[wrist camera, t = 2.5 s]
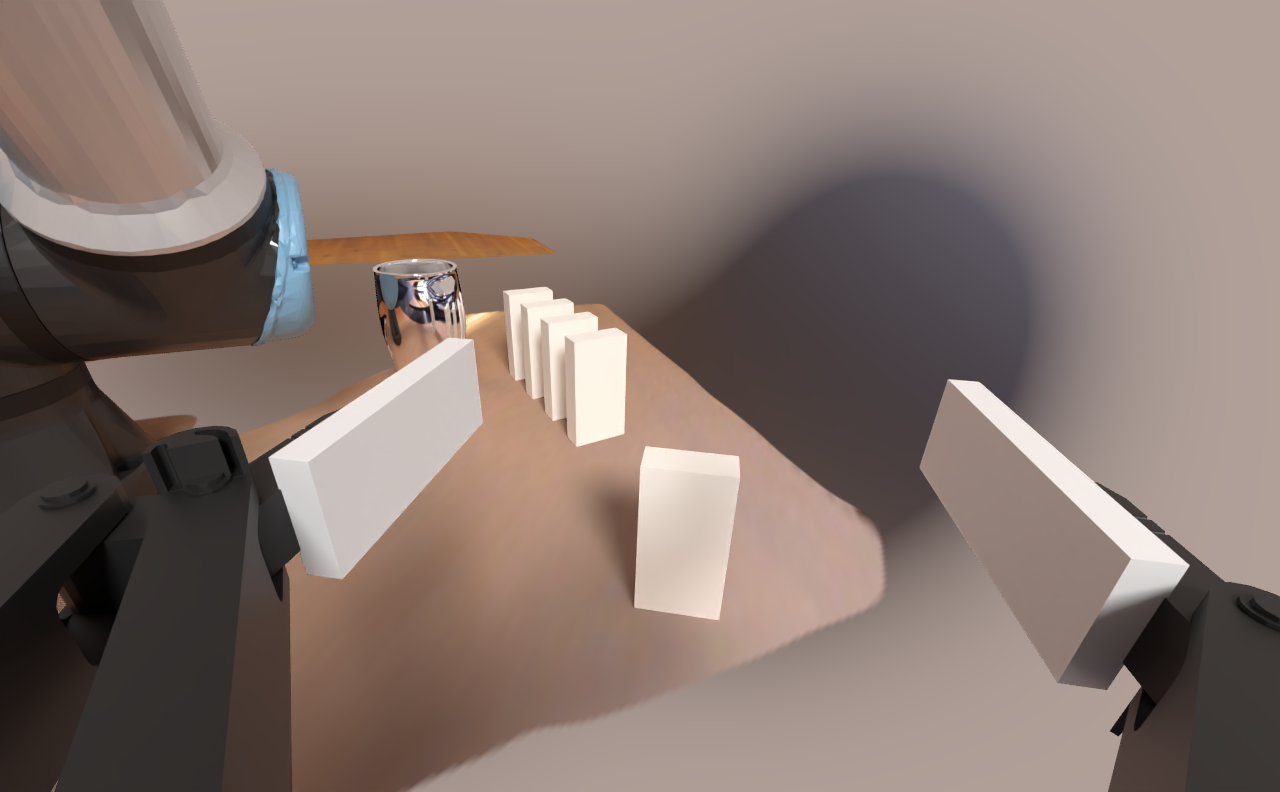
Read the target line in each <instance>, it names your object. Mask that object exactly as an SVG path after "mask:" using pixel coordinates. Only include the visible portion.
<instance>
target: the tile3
mask: <svg viewBox="0 0 1280 792" xmlns="http://www.w3.org/2000/svg"><path fill="white" fill-rule="evenodd" d="M540 323H541V342H542V361H543V381H544V400H545V413H546V414H547V415H548V416H549V417H550V419H551V420H552V421H555V420H559V419H563V418H567V407H566V372H565V337H564V336H565V335H572V334H578V333H585V332H591V331H598V317H596V316H595V315H593V314H591V313H589V312H583V313H576V314H568V315H561V316H553V317H546V318H540Z"/></svg>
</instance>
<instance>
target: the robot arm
mask: <svg viewBox="0 0 1280 792" xmlns="http://www.w3.org/2000/svg"><path fill="white" fill-rule="evenodd" d="M314 321H315V307H314V296H313V288H312V281H311V272H310V266H309V256H308V250H307V239H306V232H305V224H304V217H303V210H302V204H301V197H300V191H299V186H298V182H297V181H296V179H295V178H294V177H293V176H292V175H290V174H289V173H285V172H279V171H277V170H275V169H274V168H273V169H267V168H266V169H264V166H263V164H262V162H261V160H260V158H259V156H258V154H257V153H256V151H255V149H254V148H253V147H252V145H251V144H250V143H249V142H248V141H247V140H246V139H245V138H244V137H243V136H241V135H240V134H239V133H238V132H236V131H235V130H233V129H232V128H230V127H229V126H228V125H226V124H224V123H222V122H220V121H218V120H216V119H215V118H212V116H211V114H210V111H209V109H208V106H207V104H206V101H205V99H204V97H203V94H202V92H201V90H200V87H199V85H198V82H197V80H196V78H195V75H194V73H193V71H192V68H191V66H190V63H189V61H188V59H187V56H186V54H185V51H184V49H183V47H182V44H181V42H180V40H179V37H178V35H177V32H176V31H175V28H174V25H173V23H172V20H171V18H170V16H169V13H168V11H167V9H166V6H165V4H164V2H163V0H0V792H51V790H52V789H53V787H54V785H55V784H56V782H57V781H58V783H57V786H56V789H55V792H292V762H291V675H290V587H289V576H288V574H287V571H286V568H285V564H286V563H287V562H289V561H290V560H291V559H292V558H293V557H294V556H295V555H296V554H297V553H298V552H300V555H301V558H302V561H303V564H304V567H305V570H306V573H307V574H308V575H315V576H322V577H329V578H336V579H343V578H344V577H345V576H346V575H347V574H348V573H349V571H350V570H351V569H352V568H353V567H354V566H355V565H356V564H357V562H358V561H359V560H360V559H361V558H362V557H363V556H364V555H365V554H366V552H367V551H368V550H369V549H370V548H371V547H372V546H373V545H374V543H375V542H376V541H377V540H378V539H379V538H380V537H381V536H382V535H383V533H384V532H385V531H386V530H387V529H388V528H389V527H390V526H391V524H392V523H393V522H394V521H395V520H396V519H397V518H398V517H399V515H400V514H401V513H402V512H403V511H404V510H405V509H406V508H407V507H408V505H409V504H410V503H411V502H412V501H413V500H414V499H415V498H416V496H417V495H418V494H419V493H420V492H421V491H422V490H423V489H424V488H425V486H426V485H427V484H428V483H429V482H430V481H431V480H432V479H433V477H434V476H435V475H436V474H437V473H438V472H439V471H440V470H441V469H442V467H443V466H444V465H445V464H446V463H447V462H448V461H449V460H450V458H451V457H452V456H453V455H454V454H455V453H456V452H457V451H458V450H459V448H460V447H461V446H462V445H463V444H464V443H465V442H466V441H467V439H468V438H469V437H470V436H471V435H472V434H473V433H474V432H475V431H476V429H477V428H478V427H479V426H480V425H481V424H482V423H483V421H482V412H481V403H480V395H479V386H478V377H477V368H476V359H475V350H474V341H473V340H471V339H459V338H447V339H446V340H444V341H443V342H441V343H440V344H438V345H437V346H435V347H434V348H432V349H431V350H429V351H428V352H426V353H425V354H423V355H422V356H420V357H419V358H417V359H416V360H414V361H413V362H411V363H410V364H408V365H407V366H405V367H404V368H402V369H401V370H399V371H398V372H396V373H395V374H393V375H392V376H390V377H389V378H387V379H386V380H384V381H383V382H381V383H380V384H378V385H377V386H375V387H374V388H372V389H371V390H369V391H368V392H366V393H365V394H363V395H361V396H360V397H358V398H357V399H355V400H354V401H352V402H351V403H349V404H348V405H346V406H345V407H343V408H341V409H339V410H336V411H334V412H331V413H329V414H326V415H324V416H322V417H320V418H319V419H317V420H315V421H314V422H312V423H311V424H309V425H308V426H306V428H305V429H302V430H300V431H299V432H297V433H296V434H294V435H292V436H291V439H286V440H285V441H283V442H282V443H280V444H279V445H277V446H276V447H274V448H273V449H271V450H269V451H268V452H266V453H265V454H263V455H262V456H260V457H259V458H257V459H256V460H254V461H253V462H251V463H248V461H247V458H246V455H245V452H244V449H243V447H242V444H241V441H240V438H239V435H238V433H237V431H236V430H235V429H232V428H230V427H223V426H211V427H202V428H195V429H191V430H186V431H182V432H178V433H176V434H173V435H170V436H168V437H165V438H162V439H160V440H158V441H157V442H155V441H154V439H153V438H152V437H150V436H149V435H148V434H147V433H146V432H145V431H144V430H143V429H142V428H141V427H140V426H139V425H138V424H137V423H135V422H134V421H133V420H132V419H131V418H130V417H129V416H128V415H127V414H126V413H125V412H124V411H123V410H122V409H120V408H119V407H118V406H117V405H116V404H115V403H114V402H113V401H112V400H111V399H110V398H109V397H108V396H107V395H105V394H104V393H103V392H102V391H101V390H100V389H99V388H98V387H97V385H96V384H95V382H94V381H93V379H92V377H91V375H90V373H89V371H88V369H87V367H86V364H85V362H84V361H94V360H99V359H109V358H118V357H128V356H139V355H149V354H160V353H170V352H181V351H190V350H191V351H192V350H203V349H213V348H224V347H235V346H245V345H251V346H259V345H262V344H264V343H265V342H269V341H275V340H281V339H289V338H295V337H299V336H302V335H304V334H305V333H307V332H308V331H309V330H310V329H311V328H312V326H313V324H314ZM920 469H921V470H922V472H923V474H924V475H925V477H926V478H927V480H928V481H929V483H930V485H931V486H932V488H933V489H934V491H935V492H936V494H937V495H938V497H939V499H940V500H941V502H942V503H943V505H944V506H945V508H946V509H947V511H948V513H949V514H950V516H951V517H952V519H953V520H954V522H955V524H956V525H957V527H958V528H959V530H960V531H961V533H962V534H963V536H964V538H965V539H966V541H967V542H968V544H969V545H970V547H971V549H972V550H973V552H974V553H975V555H976V556H977V558H978V560H979V561H980V563H981V564H982V566H983V567H984V569H985V571H986V572H987V574H988V575H989V577H990V578H991V580H992V581H993V583H994V585H995V586H996V588H997V589H998V591H999V592H1000V594H1001V595H1002V597H1003V599H1004V600H1005V601H1006V603H1007V605H1008V606H1009V608H1010V609H1011V611H1012V613H1013V614H1014V616H1015V617H1016V619H1017V620H1018V622H1019V624H1020V625H1021V627H1022V628H1023V630H1024V631H1025V633H1026V634H1027V636H1028V638H1029V639H1030V641H1031V642H1032V644H1033V645H1034V647H1035V649H1036V650H1037V652H1038V653H1039V655H1040V656H1041V658H1042V659H1043V661H1044V663H1045V664H1046V666H1047V667H1048V669H1049V670H1050V672H1051V673H1052V675H1053V677H1054V678H1055V680H1056V681H1057V683H1062V684H1069V685H1076V686H1083V687H1089V688H1096V689H1104V690H1107V689H1108V688H1109V686H1110V685H1111V683H1112V682H1113V680H1114V679H1115V677H1116V676H1117V674H1118V673H1119V671H1120V670H1121V668H1122V667H1123V665H1125V666H1126V667H1127V669H1128V670H1129V671H1130V672H1131V674H1132V675H1133V676H1134V677H1135V679H1136V680H1137V681H1138V682H1139V684H1140V685H1141V688H1140V689H1139V690H1138V692H1137V693H1136V695H1135V696H1134V698H1133V699H1132V700H1131V702H1130V703H1129V705H1128V706H1127V708H1126V709H1125V710H1124V712H1123V713H1122V715H1121V716H1120V717H1119V719H1118V720H1117V722H1116V723H1115V724H1114V726H1113V727H1112V729H1111V730H1110V731H1111V732H1112V733H1114V734H1115V735H1117V736H1119V735H1120V734H1121V733H1122V732H1123V734H1122V738H1121V742H1120V746H1119V750H1118V754H1117V758H1116V762H1115V766H1114V770H1113V774H1112V779H1111V783H1110V786H1109V790H1108V792H1280V596H1278V595H1275V594H1273V593H1270V592H1267V591H1264V590H1261V589H1258V588H1255V587H1252V586H1248V585H1243V584H1237V583H1232V582H1224V581H1223V580H1222V579H1221V578H1220V577H1218V576H1217V575H1216V574H1215V573H1214V572H1212V571H1211V570H1210V569H1209V568H1208V567H1207V566H1205V565H1204V564H1203V563H1202V562H1201V561H1199V560H1198V559H1197V558H1196V557H1195V556H1194V555H1192V554H1191V553H1190V552H1189V551H1188V550H1186V549H1185V548H1184V547H1183V546H1182V545H1180V544H1179V543H1178V542H1177V541H1176V540H1174V539H1173V538H1172V537H1171V536H1170V535H1165V531H1164V530H1162V529H1161V528H1160V527H1159V526H1158V525H1157V524H1155V523H1154V522H1153V521H1152V520H1147V516H1146V515H1145V514H1144V513H1142V512H1141V511H1140V510H1139V509H1138V508H1136V507H1135V506H1134V505H1133V504H1132V503H1131V502H1129V501H1128V500H1127V499H1126V498H1124V497H1122V496H1120V495H1119V494H1117V493H1115V492H1113V491H1111V490H1109V489H1108V488H1106V487H1104V486H1103V485H1101V484H1099V483H1097V482H1093V481H1092V480H1091V479H1090V478H1089V477H1087V476H1086V475H1085V474H1084V473H1083V472H1082V471H1081V470H1080V469H1078V468H1077V467H1076V466H1075V465H1074V464H1073V463H1071V462H1070V461H1069V460H1068V459H1067V458H1066V457H1065V456H1063V455H1062V454H1061V453H1060V452H1059V451H1058V450H1057V449H1055V448H1054V447H1053V446H1052V445H1051V444H1050V443H1048V442H1047V441H1046V440H1045V439H1044V438H1043V437H1042V436H1040V435H1039V434H1038V433H1037V432H1036V431H1035V430H1034V429H1032V428H1031V427H1030V426H1029V425H1028V424H1027V423H1025V422H1024V421H1023V420H1022V419H1021V418H1020V417H1019V416H1017V415H1016V414H1015V413H1014V412H1013V411H1012V410H1010V409H1009V408H1008V407H1007V406H1006V405H1005V404H1004V403H1003V402H1001V401H1000V400H999V399H998V398H997V397H996V396H995V395H993V394H992V393H991V392H990V391H989V390H988V389H986V388H985V387H984V386H983V385H982V384H981V383H979V382H972V381H960V380H948V381H947V384H946V388H945V391H944V394H943V397H942V400H941V403H940V406H939V409H938V412H937V416H936V419H935V421H934V425H933V428H932V431H931V434H930V437H929V440H928V443H927V446H926V449H925V452H924V455H923V459H922V461H921V465H920ZM157 493H159V494H158V495H156V494H157ZM58 593H59V594H60V595H61V597H62V599H63V600H64V602H65V603H66V606H65V607H64V608H63V610H62V611H61V612H60V613H59V614H58V611H57V608H56V605H57V598H58ZM58 779H59V780H58Z"/></svg>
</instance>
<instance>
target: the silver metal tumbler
mask: <svg viewBox="0 0 1280 792" xmlns="http://www.w3.org/2000/svg"><path fill="white" fill-rule="evenodd" d="M373 273H374V280H375V290H376V291H375V292H376V299H377V307H378V314H379V320H380V324H381V328H382V333H383V336H384V339H385V342H386V345H387V348H388V350H389V353H390V355H391V358H392V361H393V363H394V365H395V368H396V370H397V372H398V371H399V370H401V369H402V368H404V367H405V366H407V365H408V364H410V363H411V362H413V361H414V360H416V359H417V358H419V357H420V356H422V355H423V354H425V353H426V352H428V351H429V350H431V349H432V348H434V347H435V346H437V345H438V344H440V343H441V342H443V341H444V340H446V339H447V338H459V339H466V319H465V309H464V302H463V296H462V291H461V286H460V281H459V277H458V272H457V265H456V264H455V263H453V262H449V261H445V260H437V259H408V260H398V261H391V262H386V263H382V264H379V265H377V266H375V267H374V268H373Z"/></svg>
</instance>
